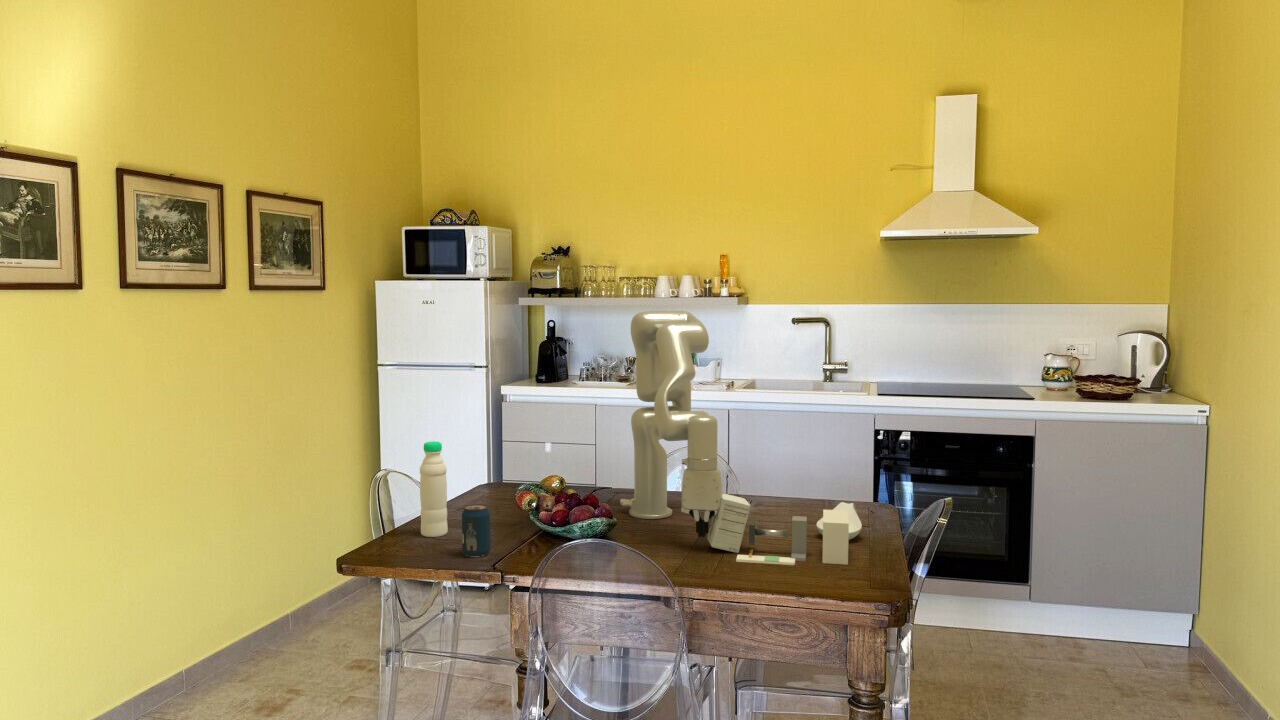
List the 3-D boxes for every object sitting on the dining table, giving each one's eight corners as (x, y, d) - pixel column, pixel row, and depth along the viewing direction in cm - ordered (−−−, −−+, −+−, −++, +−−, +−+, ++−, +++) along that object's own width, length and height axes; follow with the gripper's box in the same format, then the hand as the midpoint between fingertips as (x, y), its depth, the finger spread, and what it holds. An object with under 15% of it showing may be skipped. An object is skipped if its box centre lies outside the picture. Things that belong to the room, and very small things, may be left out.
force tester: (736, 561, 221) (736, 521, 220) (742, 543, 236) (742, 505, 236) (848, 568, 216) (849, 526, 215) (846, 549, 231) (847, 510, 230)
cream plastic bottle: (415, 534, 245) (413, 442, 243) (437, 529, 250) (436, 439, 248) (430, 539, 240) (429, 445, 238) (452, 534, 246) (451, 442, 244)
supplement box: (706, 539, 234) (718, 491, 234) (733, 545, 235) (745, 498, 234) (710, 547, 227) (723, 498, 226) (739, 553, 228) (751, 505, 227)
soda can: (487, 548, 232) (487, 502, 231) (493, 556, 225) (492, 508, 224) (460, 551, 229) (459, 504, 228) (464, 559, 223) (464, 511, 222)
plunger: (747, 555, 222) (747, 529, 222) (750, 544, 232) (750, 519, 232) (786, 558, 220) (786, 531, 220) (788, 546, 231) (788, 520, 230)
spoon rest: (858, 546, 234) (858, 519, 234) (812, 542, 239) (812, 515, 238) (869, 524, 256) (870, 499, 256) (827, 520, 261) (828, 496, 260)
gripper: (670, 466, 228) (670, 538, 229) (730, 468, 225) (729, 541, 226) (675, 460, 235) (675, 530, 237) (733, 462, 232) (733, 533, 234)
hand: (702, 535), depth 231 cm, fingers closed
